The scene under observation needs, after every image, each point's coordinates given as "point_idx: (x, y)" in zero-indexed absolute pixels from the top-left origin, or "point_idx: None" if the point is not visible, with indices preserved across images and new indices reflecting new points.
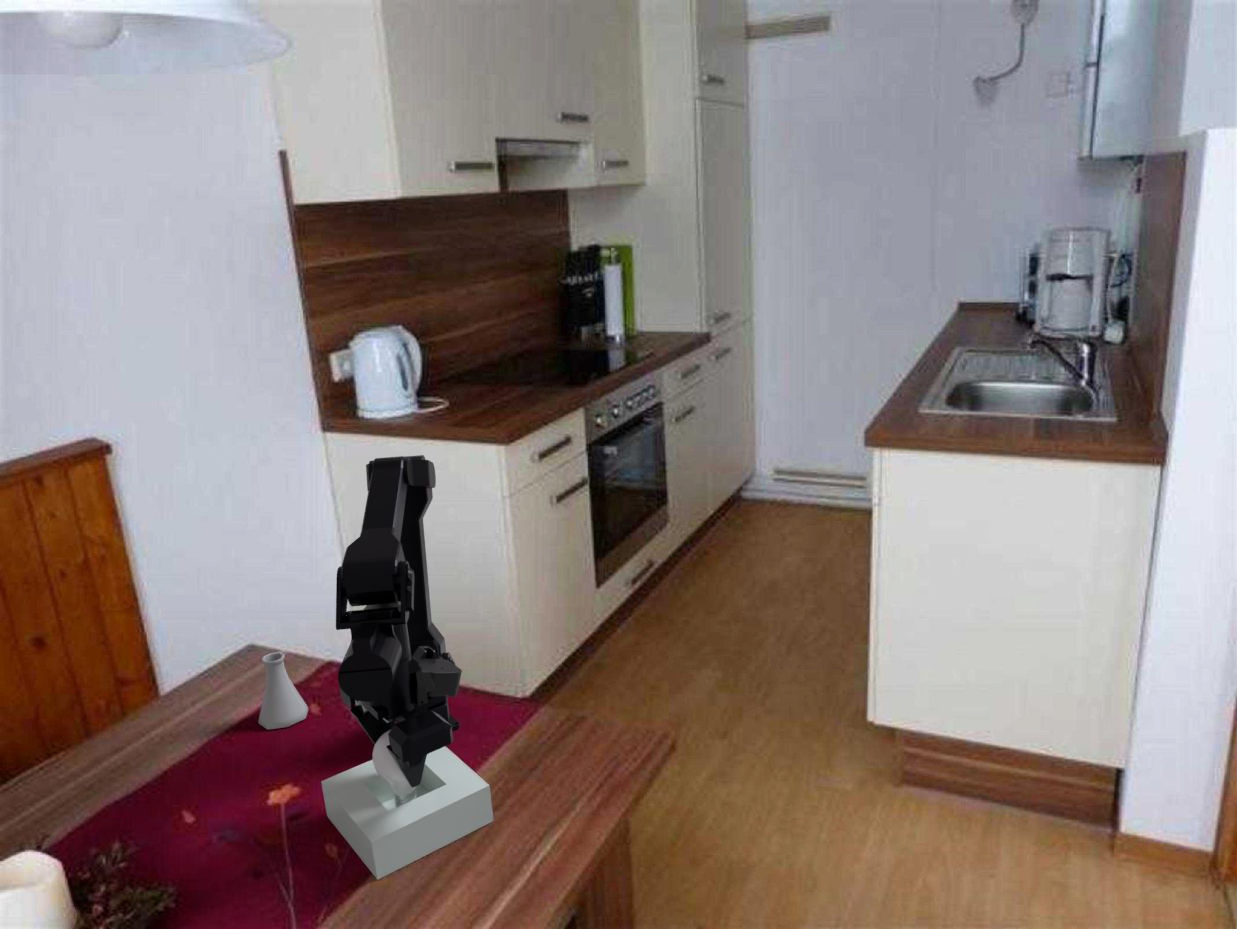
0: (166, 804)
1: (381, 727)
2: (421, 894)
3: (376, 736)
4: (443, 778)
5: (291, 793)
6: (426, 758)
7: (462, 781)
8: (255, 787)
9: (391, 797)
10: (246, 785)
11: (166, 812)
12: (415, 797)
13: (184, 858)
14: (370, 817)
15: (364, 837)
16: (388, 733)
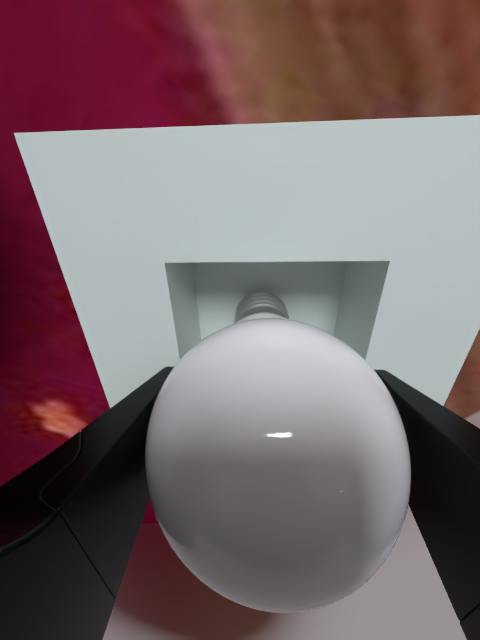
0: None
1: (104, 540)
2: (469, 372)
3: (134, 515)
4: (348, 252)
5: (63, 412)
6: (186, 241)
7: (434, 203)
8: (23, 437)
9: (197, 320)
10: (12, 443)
11: None
12: (285, 312)
13: (146, 512)
14: None
15: None
16: (248, 606)
